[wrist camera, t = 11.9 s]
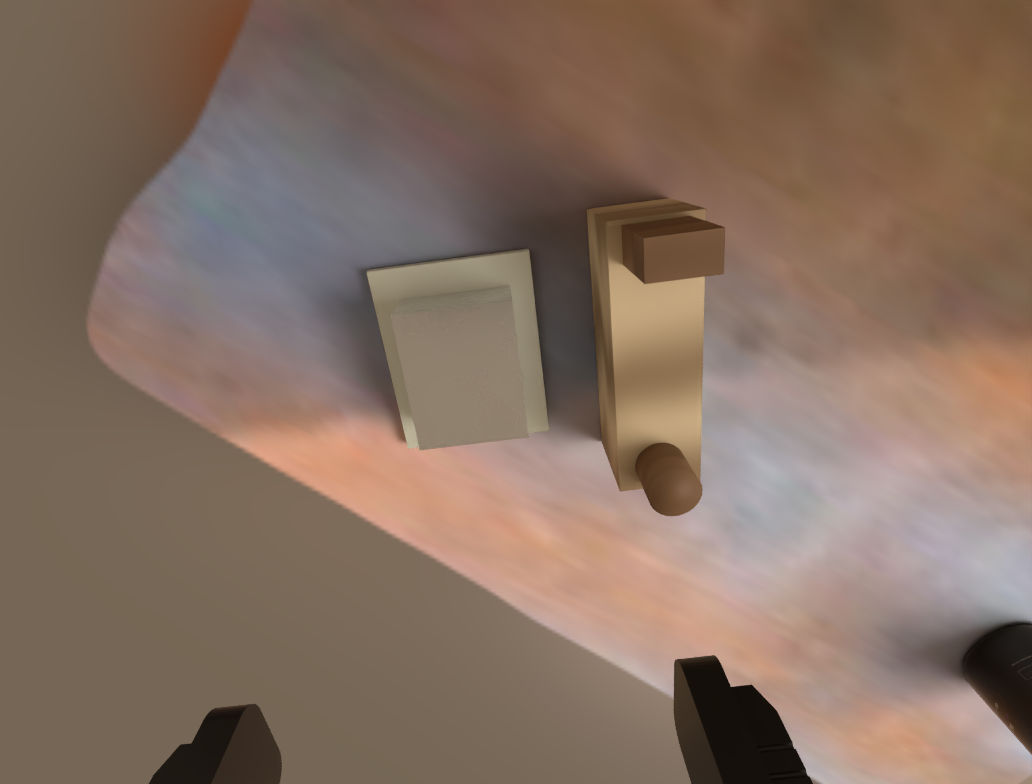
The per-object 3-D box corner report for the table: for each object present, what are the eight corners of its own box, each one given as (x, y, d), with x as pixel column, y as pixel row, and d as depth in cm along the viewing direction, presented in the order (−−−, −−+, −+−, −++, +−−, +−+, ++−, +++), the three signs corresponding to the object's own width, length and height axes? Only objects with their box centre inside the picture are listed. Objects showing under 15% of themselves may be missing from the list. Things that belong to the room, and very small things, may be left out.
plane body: (586, 209, 26) (625, 234, 18) (668, 198, 26) (743, 219, 18) (601, 441, 32) (637, 537, 24) (670, 433, 32) (727, 526, 24)
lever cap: (400, 299, 27) (390, 315, 24) (510, 285, 27) (512, 301, 24) (426, 422, 30) (419, 450, 27) (525, 410, 30) (528, 437, 27)
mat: (368, 269, 27) (366, 272, 26) (528, 248, 27) (529, 250, 26) (409, 443, 31) (407, 448, 31) (548, 425, 31) (549, 430, 30)
